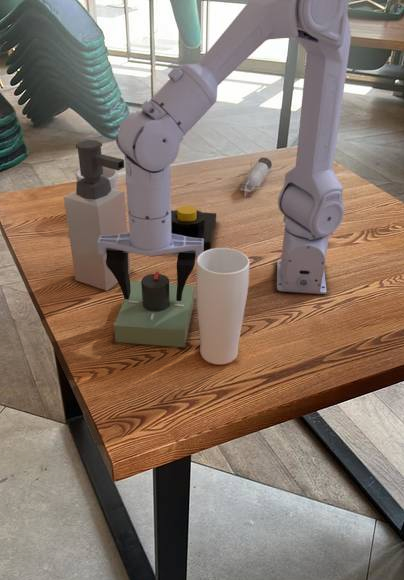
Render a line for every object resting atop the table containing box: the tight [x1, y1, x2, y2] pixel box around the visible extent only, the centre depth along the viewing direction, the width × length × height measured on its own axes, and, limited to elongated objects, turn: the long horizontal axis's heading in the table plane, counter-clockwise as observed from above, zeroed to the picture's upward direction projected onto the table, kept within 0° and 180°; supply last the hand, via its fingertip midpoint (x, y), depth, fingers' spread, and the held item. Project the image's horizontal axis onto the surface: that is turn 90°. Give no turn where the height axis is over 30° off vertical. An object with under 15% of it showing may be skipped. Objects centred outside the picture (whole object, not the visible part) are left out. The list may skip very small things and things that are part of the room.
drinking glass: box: [195, 247, 251, 366], centre depth 76 cm, size 7×7×15 cm
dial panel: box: [113, 280, 195, 348], centre depth 85 cm, size 12×10×3 cm
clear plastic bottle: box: [239, 156, 273, 197], centre depth 126 cm, size 18×5×7 cm, turn 161°
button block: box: [171, 209, 217, 252], centre depth 107 cm, size 12×10×4 cm
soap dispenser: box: [63, 139, 131, 291], centre depth 89 cm, size 6×9×22 cm
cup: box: [75, 167, 119, 190], centre depth 112 cm, size 11×8×8 cm
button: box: [176, 205, 198, 222], centre depth 105 cm, size 4×4×2 cm
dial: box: [140, 271, 170, 311], centre depth 83 cm, size 4×4×4 cm
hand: (153, 296), depth 85 cm, fingers open, 7 cm apart
